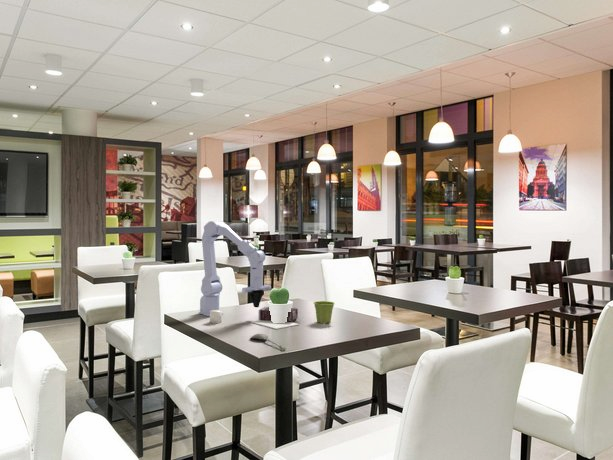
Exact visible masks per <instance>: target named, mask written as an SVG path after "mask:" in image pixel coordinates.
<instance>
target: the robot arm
mask: <svg viewBox="0 0 613 460" xmlns="http://www.w3.org/2000/svg"><path fill="white" fill-rule="evenodd" d="M220 236H224V237H226V238H228V239H229V240H230V241H231V242H232V243H234V244H235V245H236V246H237V249H238V251H240V253H242V254H243V255H244V256H245V257H246V258H247V260H248V262H249V264H250V267H249V268H250V270H249V271H250V281H249V283H250V284H249V285H250V286H247V287H242V289H241V292H242V293H244V294H245V293H248V294H249V296H250V298H251V301H252V304H253V307H254V308H260V303H261V300H262V297H263V296H264V294H265V291H270V290H271V285H269V284H268V285H264V262H265V260H266V253H265V252H264V251H263V250H261V249H258V247H256V246H255V245H253V244H252V243H251V240H249V239H248V240H247V239H242V238H241V237H240V236H239V234H237V233H236V232H235V231H234V230H232V228H231V227H230V226H229V224H226V222H224V221H208V222H207V223H206V224H205V225H204V226H203V233H202V235H201V244H202V247H201V248H202V255H203V256H202V257H203V265H204V266H203V267H204V277H203V278H202V280H201V286H200V291H201V293H202V295H201V297H200V300H199V311H198V314H199V315H203V316H206V317H210V311H211V310H220V295H221V292H222V290H223V284H222V282H221V277H220V276H219V275H218V273H217V264H216V263H217V261H216V251H215V241H216V240H217V239H218V238H219V237H220ZM222 315H224V313H223V312H222Z"/></svg>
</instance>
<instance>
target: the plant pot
mask: <svg viewBox="0 0 613 460" xmlns="http://www.w3.org/2000/svg"><path fill="white" fill-rule="evenodd" d="M313 304H314V308H315V316H316V317H315V318H316V322H317V323H319V324H327V323H328V324H330V323H331V322H332V315H333V309H334V305H335V302H333V301H325V300H319V301H314V302H313Z"/></svg>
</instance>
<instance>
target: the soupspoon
mask: <svg viewBox="0 0 613 460" xmlns="http://www.w3.org/2000/svg"><path fill="white" fill-rule="evenodd" d="M268 338H269V336H268V335H267V334H264V333H256V334H254V335H252V336H250V338H249V340H251V339H259V340H263V341H268V342H270V343H271V344H274V345H275V346H277V347H278V348H279V349H280V350H281V352H285V351H286V350H287V348H286V347H284V346H282V345H280V344H278V343H277V342H275V341H273V340H271V339H268ZM284 350H285V351H284Z"/></svg>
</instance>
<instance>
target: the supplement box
mask: <svg viewBox="0 0 613 460" xmlns="http://www.w3.org/2000/svg"><path fill="white" fill-rule="evenodd" d="M269 307H270V306H264V307H261V308H260V309H259V310H258V320H266V321H271V315H270V311H269ZM290 308H291V312H288V317H287V322H293V323H294V322H295V321H296V320H297V319H298V316H299V315H298V312H299V311H298V310H299V309H298V308H296V307H294V308H292V307H290Z"/></svg>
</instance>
